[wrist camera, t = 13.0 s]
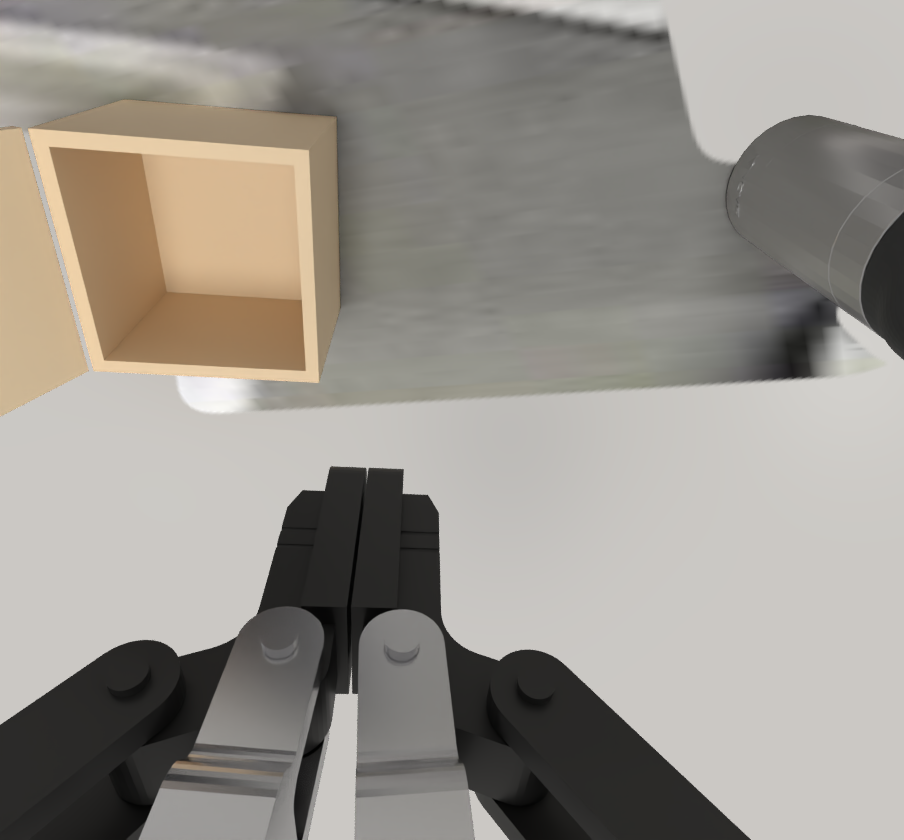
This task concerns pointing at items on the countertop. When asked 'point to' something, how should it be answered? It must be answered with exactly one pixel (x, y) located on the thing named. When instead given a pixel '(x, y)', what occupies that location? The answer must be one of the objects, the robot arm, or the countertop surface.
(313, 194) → the carton
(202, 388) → the countertop surface
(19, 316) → the lid flap
